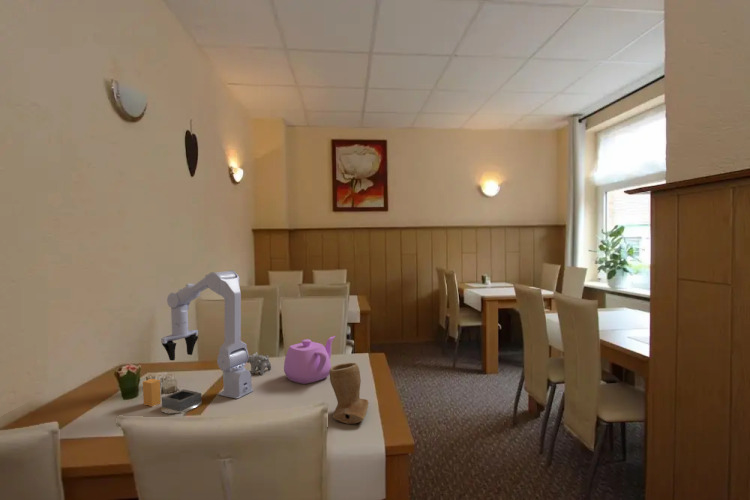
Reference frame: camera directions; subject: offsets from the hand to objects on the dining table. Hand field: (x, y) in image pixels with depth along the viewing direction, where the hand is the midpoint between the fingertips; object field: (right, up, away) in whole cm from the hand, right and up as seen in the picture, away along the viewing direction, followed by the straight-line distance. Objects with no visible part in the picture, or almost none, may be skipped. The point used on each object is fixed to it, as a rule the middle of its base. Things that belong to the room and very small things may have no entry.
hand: (181, 357), depth 145 cm
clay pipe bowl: (+68, -9, -32) cm, 76 cm away
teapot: (+50, -9, +2) cm, 51 cm away
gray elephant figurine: (+26, -9, +10) cm, 30 cm away
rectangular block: (0, -10, -20) cm, 22 cm away
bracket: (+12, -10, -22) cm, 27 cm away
